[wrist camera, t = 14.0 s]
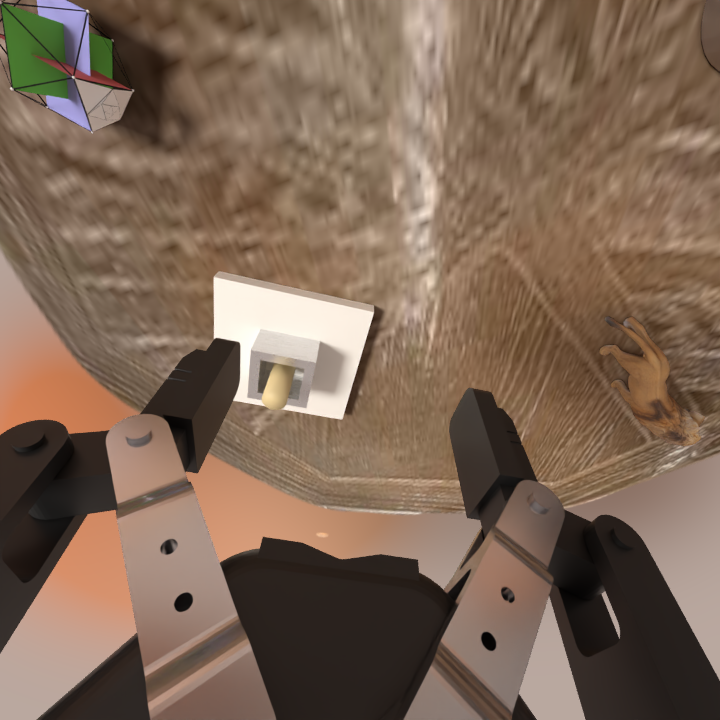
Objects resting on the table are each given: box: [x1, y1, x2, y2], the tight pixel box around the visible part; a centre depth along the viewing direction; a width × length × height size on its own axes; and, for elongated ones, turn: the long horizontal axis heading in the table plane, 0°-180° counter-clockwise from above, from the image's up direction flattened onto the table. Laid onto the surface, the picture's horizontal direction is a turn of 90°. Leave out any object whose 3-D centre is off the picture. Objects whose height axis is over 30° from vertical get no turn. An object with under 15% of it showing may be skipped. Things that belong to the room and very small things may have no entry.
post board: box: [214, 271, 374, 420], centre depth 37 cm, size 16×16×8 cm
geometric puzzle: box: [0, 0, 134, 133], centre depth 23 cm, size 7×7×8 cm
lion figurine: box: [599, 317, 705, 446], centre depth 37 cm, size 15×5×9 cm, turn 40°
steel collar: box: [247, 329, 320, 408], centre depth 38 cm, size 6×6×4 cm
